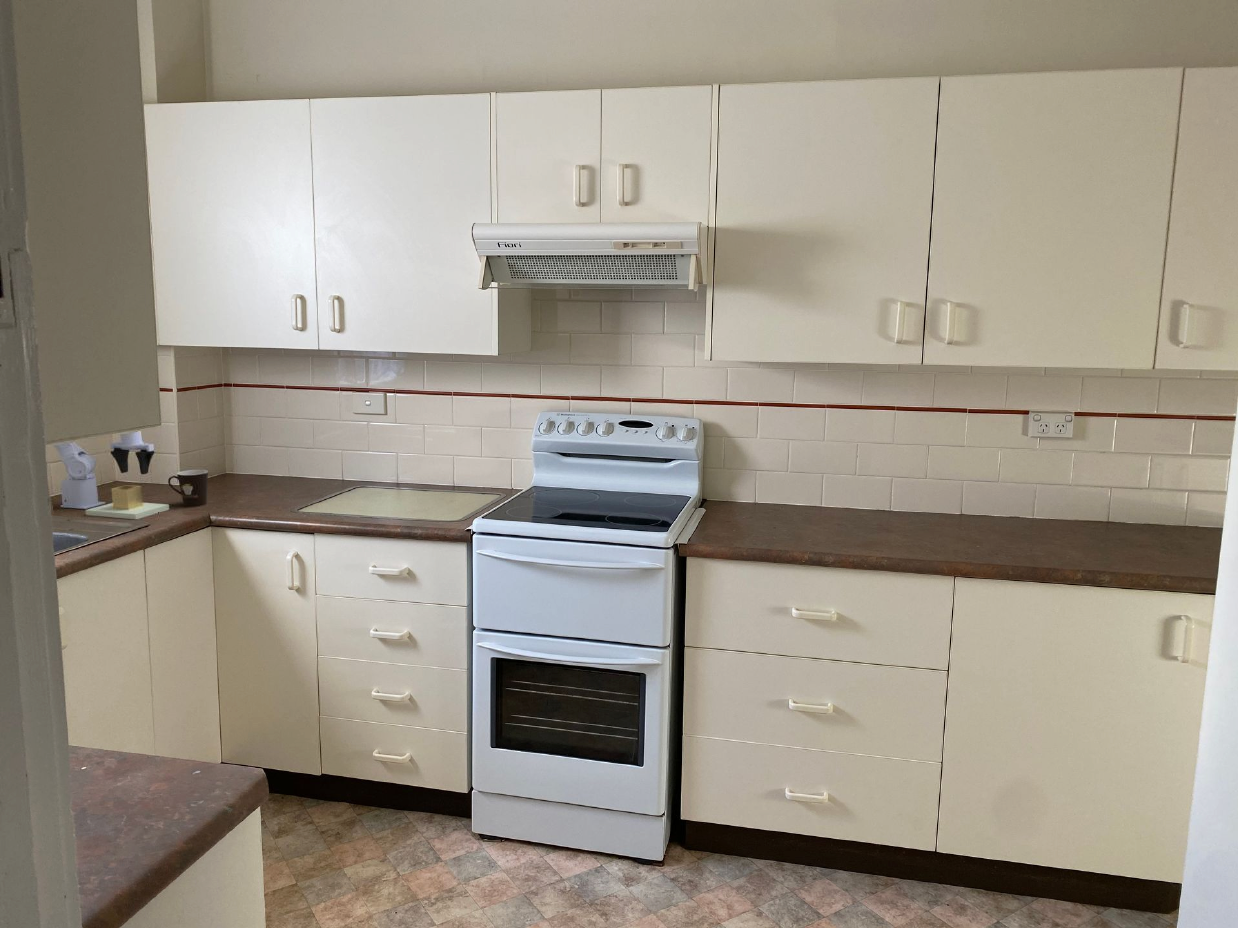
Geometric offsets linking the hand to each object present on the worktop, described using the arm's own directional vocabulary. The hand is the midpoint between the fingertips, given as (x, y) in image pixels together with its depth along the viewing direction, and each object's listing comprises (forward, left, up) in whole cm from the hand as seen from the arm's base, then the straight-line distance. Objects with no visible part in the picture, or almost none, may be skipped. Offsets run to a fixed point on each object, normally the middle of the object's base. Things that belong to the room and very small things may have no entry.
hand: (134, 473), depth 291 cm
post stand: (+7, -11, -9) cm, 16 cm away
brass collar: (+7, -11, -8) cm, 15 cm away
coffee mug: (+17, +4, -10) cm, 20 cm away
